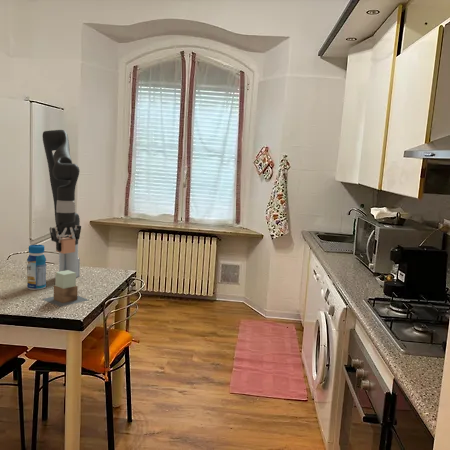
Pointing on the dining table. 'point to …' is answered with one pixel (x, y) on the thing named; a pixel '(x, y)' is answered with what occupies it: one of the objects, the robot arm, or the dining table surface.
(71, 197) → the robot arm
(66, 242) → the terracotta cube
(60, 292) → the walnut block
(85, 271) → the dining table surface
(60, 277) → the sage block
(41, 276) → the beverage bottle
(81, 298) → the slate mat
